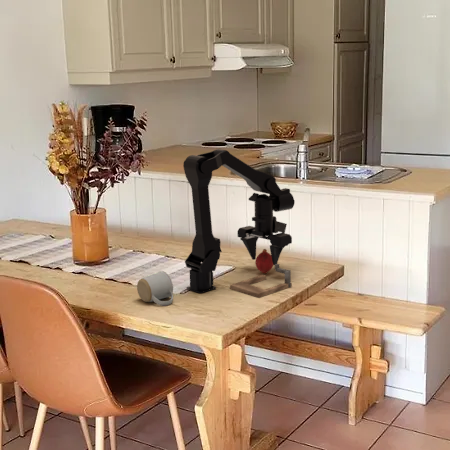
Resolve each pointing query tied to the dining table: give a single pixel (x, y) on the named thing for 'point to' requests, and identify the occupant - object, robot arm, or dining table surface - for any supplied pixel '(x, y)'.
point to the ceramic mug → (156, 288)
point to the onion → (264, 262)
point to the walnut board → (259, 292)
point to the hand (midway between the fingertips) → (264, 262)
